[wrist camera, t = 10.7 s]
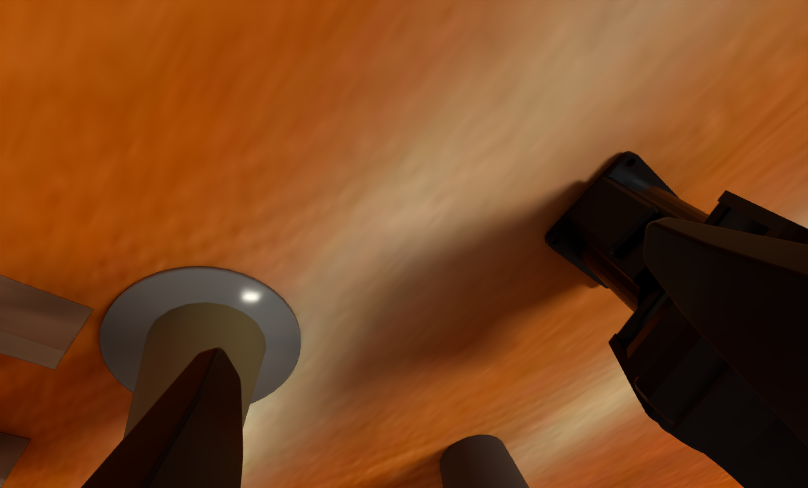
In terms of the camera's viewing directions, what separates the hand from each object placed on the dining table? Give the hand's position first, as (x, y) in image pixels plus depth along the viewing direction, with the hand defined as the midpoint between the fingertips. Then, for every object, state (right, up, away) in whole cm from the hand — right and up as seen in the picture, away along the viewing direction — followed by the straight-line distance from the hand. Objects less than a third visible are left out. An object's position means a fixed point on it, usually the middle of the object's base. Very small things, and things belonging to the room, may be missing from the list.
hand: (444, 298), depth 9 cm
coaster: (-12, -4, +15) cm, 20 cm away
